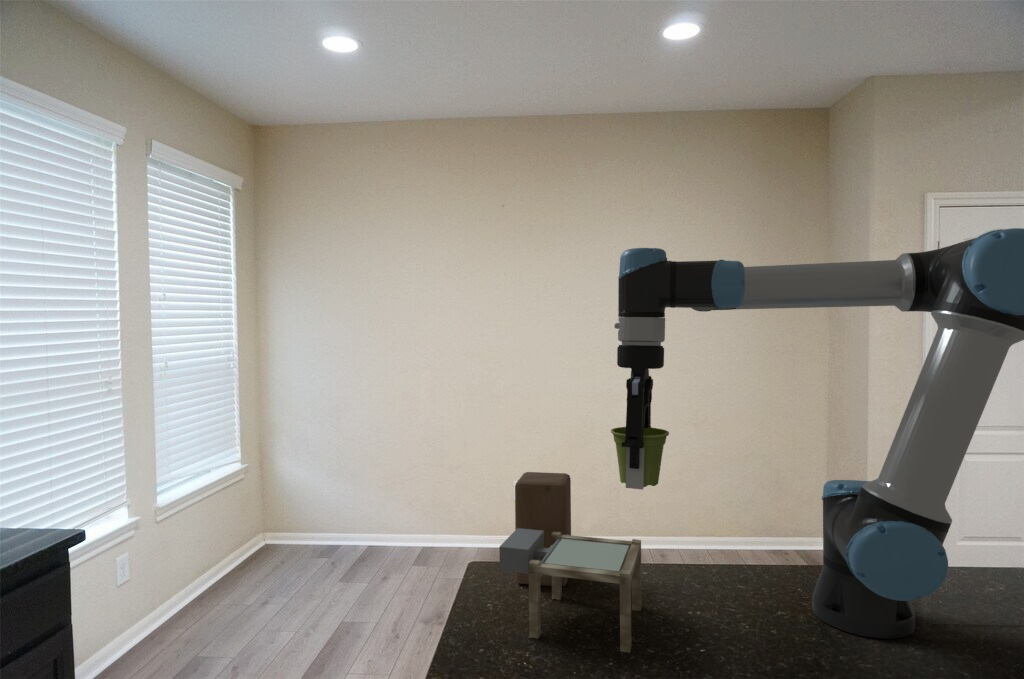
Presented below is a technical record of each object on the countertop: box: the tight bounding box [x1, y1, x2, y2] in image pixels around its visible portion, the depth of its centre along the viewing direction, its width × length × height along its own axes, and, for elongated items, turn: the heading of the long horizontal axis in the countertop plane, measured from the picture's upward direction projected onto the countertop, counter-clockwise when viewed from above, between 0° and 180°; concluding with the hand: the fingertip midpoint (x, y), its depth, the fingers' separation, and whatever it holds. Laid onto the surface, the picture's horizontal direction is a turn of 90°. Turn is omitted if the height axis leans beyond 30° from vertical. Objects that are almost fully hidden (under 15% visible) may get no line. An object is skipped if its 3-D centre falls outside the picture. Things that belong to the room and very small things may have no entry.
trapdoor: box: [499, 528, 629, 574], centre depth 104 cm, size 20×12×4 cm, turn 72°
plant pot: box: [610, 426, 670, 488], centre depth 100 cm, size 9×9×9 cm
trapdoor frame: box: [528, 532, 643, 654], centre depth 103 cm, size 16×16×12 cm
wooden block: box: [514, 471, 572, 587], centre depth 121 cm, size 10×10×20 cm
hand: (637, 481), depth 100 cm, fingers closed on plant pot, 8 cm apart
